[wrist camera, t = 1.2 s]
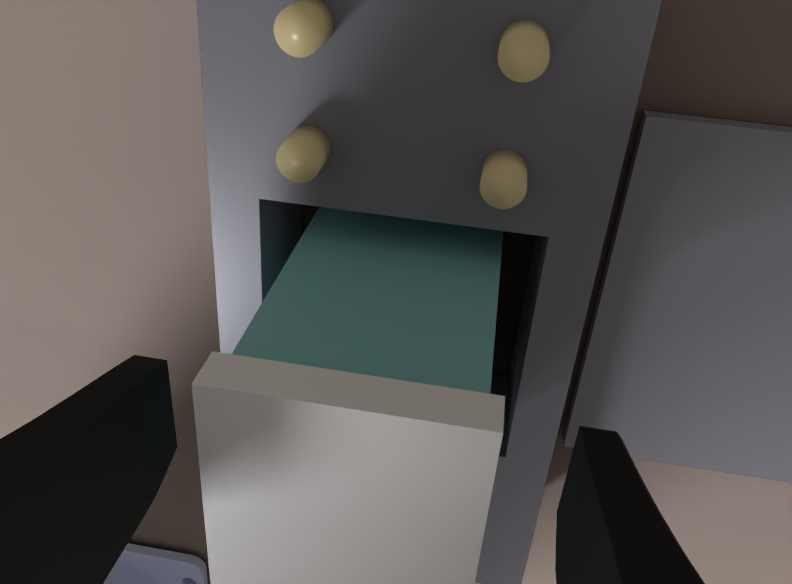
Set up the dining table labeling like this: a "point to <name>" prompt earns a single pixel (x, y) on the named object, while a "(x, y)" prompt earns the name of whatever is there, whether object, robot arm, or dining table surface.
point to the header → (431, 165)
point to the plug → (357, 410)
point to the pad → (697, 302)
